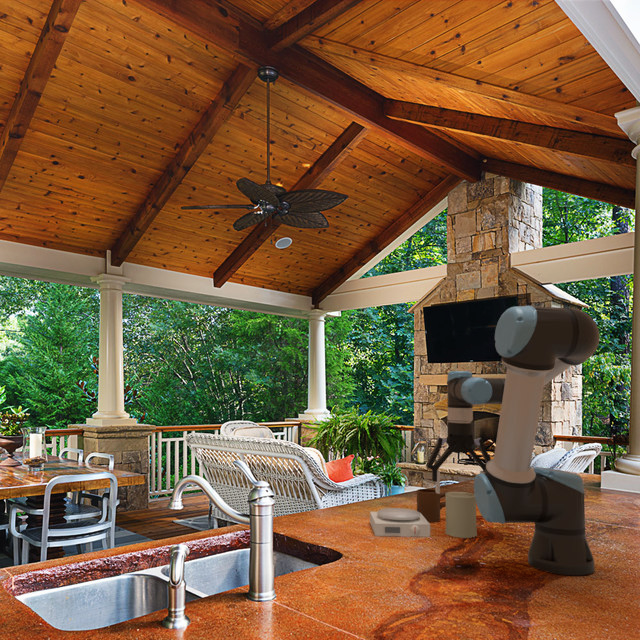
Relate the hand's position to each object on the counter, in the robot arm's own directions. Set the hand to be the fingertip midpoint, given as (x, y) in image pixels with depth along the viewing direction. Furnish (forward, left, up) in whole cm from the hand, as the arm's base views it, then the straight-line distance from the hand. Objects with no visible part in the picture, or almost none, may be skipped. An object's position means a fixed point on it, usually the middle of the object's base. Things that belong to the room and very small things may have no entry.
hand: (460, 493), depth 173 cm
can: (0, 0, -12) cm, 12 cm away
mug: (+18, +4, -12) cm, 22 cm away
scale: (+4, +18, -12) cm, 22 cm away
